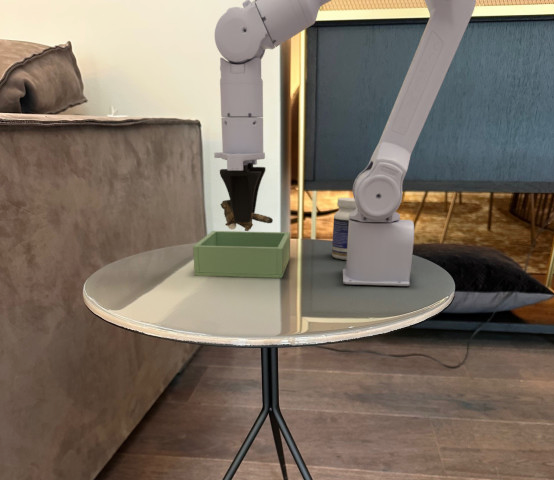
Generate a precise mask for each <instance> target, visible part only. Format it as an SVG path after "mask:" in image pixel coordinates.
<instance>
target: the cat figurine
mask: <svg viewBox="0 0 554 480" xmlns="http://www.w3.org/2000/svg"><path fill="white" fill-rule="evenodd" d="M220 207H221V209H222V210H223V215H224V218H225V222H226V223H225V225H224V226H227V228H228V229H229V230H235V229H236V228H237V225H238V226H240V227H242V228H244V231H243V232H250V230H251V229H252V227H253V226H254V223H253V221H256V222H259V223H264V224H272V223H273V221H274V220H273V218H272V217H270V216H267V215H263V214H260V213H256V212H255V213H252V215H251V220H250V222H236V221H235V218H234V215H233V210H232V206H231V201H230V199H226V200H222V201H221V203H220Z"/></svg>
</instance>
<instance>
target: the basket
mask: <svg viewBox="0 0 554 480" xmlns="http://www.w3.org/2000/svg"><path fill="white" fill-rule="evenodd" d="M290 248H291V233H290V232H289V231H288V232H285V231H281V232H280V231H279V232H278V231H240V230H239V231H238V230H237V231H235V230H233V231H232V230H212V231H211V232H209V233H208V234H207V235H205V236H204V237H203V238H201V239H200V240H199V241H198V242H196V244H194V245H193V246H192V252H193V268H194V269H193V271H194V276H199V277H200V276H201V277H203V276H204V277H232V278H233V277H235V278H269V279H283V277H284V274H285V272H286V269H287V267H288V264H289V261H290V258H291V256H290V255H291V254H290V253H291V249H290Z"/></svg>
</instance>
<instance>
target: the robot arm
mask: <svg viewBox="0 0 554 480" xmlns="http://www.w3.org/2000/svg"><path fill="white" fill-rule="evenodd" d="M331 1H332V0H252V1H251V0H244V1H243V2H242V3H241V5H242V7H240V6H232V7H229V8H228V9H226V11H225V12H224V13H223V14H222V15H221V16H220V18H219V19H218V21H217V22H216V25H215V29H214V42H215V46H216V49H217V50H218V52H219V54H220V55H221V56H222V57H220V58H219V61H220V63H219V64H220V66H219V71H220V78H219V88H220V89H219V92H220V117H221V120H220V121H221V142H222V151H215V152H214V153H213V155H214V156H213V157H214V158H215V159H222V160H224V161H226V168H221V169H219V176H220V178H221V179H222V181H223V183H224V185H225V188H226V190H227V194H228V196H229V200H230V201H231V206H232V210H233V215H234V218H235V221H236V222H250V220H251V215H252V213H255V214H256V206H257V201H258V194H259V190H260V187H261V186H260V185H261V182H262V180H263V177H264V175H265V172H266V167H265V166H256V165H258V160H259V161H260V160H265V159H266V154H265V152H264V94H263V93H264V81H263V79H262V59H263V57H264V56H265V53H266V50H274V49H276V48H277V47H279V46H281V45H282V44H284V43H285V42H287V41H288V40H290V39H292V38H293V37H295V36H297V35H299V34H300V33H301V32H303V31H305V30H306V29H308V28H309V27H311V26H313V25H314V24H315V23H316V21H317V18H318V14H319V11H320V9H321V7H322V6H323V5H326V4H327V3H330V2H331ZM476 2H477V0H424V3H425V5H426V8H427V10H428V13H429V18H428V21H427V23H426V26H425V28H424V31H423V33H422V35H421V37H420V40H419V43H418V46H417V48H416V49H415V53H414V55H413V57H412V60H411V63H410V64H409V67H408V69H407V73H406V75H405V77H404V80H403V82H402V85H401V87H400V89H399V92H398V94H397V96H396V99H395V102H394V103H393V104H394V105H393V106H392V108H391V111H390V114H389V117H388V119H387V121H386V124H385V126H384V129H383V131H382V134H381V136H380V139H379V141H378V142H377V145H376V147H375V149H374V151H373V153H372V155H371V157H370V159H369V162H368V164H367V165H366V167H365V168H364V169H363V170H362V171H361V172H359V174H358V175H357V176H356V178H355V180H354V182H353V185H352V196H353V198H354V199H355V203H356V206H357V207H356V209H355V211H354V212H352V213H351V214H349V228H348V245H347V260H346V265H345V268H343V269H342V284H343V285H356V286H390V287H391V286H393V287H409V286H410V285H411V283H410V278H411V271H412V260H413V251H414V241H415V224H414V221H413V220H412V219H401V214H400V213H398V212H397V211H398V209H399V208H400V205H401V203H402V200H403V183H404V179H405V177H406V175H407V172H408V169H409V164H410V159H411V155H412V153H413V150H414V149H415V147H416V143H417V142H418V140H419V137H420V135H421V133H422V130H423V128H424V126H425V123H426V121H427V119H428V117H429V114H430V112H431V109H432V107H433V105H434V103H435V100H436V98H437V97H438V94H439V91H440V89H441V86H442V84H443V82H444V79H445V78H446V76H447V73H448V71H449V68H450V66H451V64H452V61H453V59H454V57H455V54H456V52H457V50H458V48H459V46H460V43H461V41H462V39H463V36H464V33H465V32H466V30H467V27H468V25H469V23H470V20H471V18H472V16H473V14H474V11H475V7H476V5H477V3H476ZM254 165H255V166H254Z"/></svg>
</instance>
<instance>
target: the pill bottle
mask: <svg viewBox="0 0 554 480" xmlns="http://www.w3.org/2000/svg"><path fill="white" fill-rule="evenodd" d="M336 206H337V207H338V210H337V211H336V212H335V213H334V215H333V224H332V225H333V226H332V243H331V255H332V257H333V258H334V259H338V260H341V261H347V245H348V228H349V214H351V213H352V212H354V211H355V209H356V207H357V206H356V203H355V199H354V197H339V198H337V205H336Z"/></svg>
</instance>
